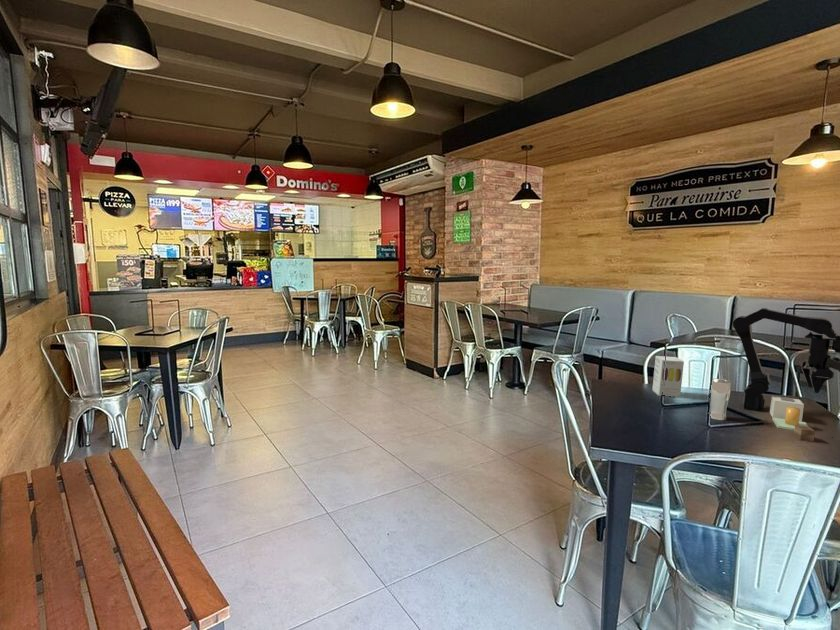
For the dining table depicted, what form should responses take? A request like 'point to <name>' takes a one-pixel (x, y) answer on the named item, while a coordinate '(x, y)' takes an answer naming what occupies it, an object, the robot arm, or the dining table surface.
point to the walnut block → (804, 433)
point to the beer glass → (719, 398)
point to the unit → (784, 406)
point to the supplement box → (668, 376)
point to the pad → (781, 424)
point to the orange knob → (792, 416)
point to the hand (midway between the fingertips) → (813, 389)
